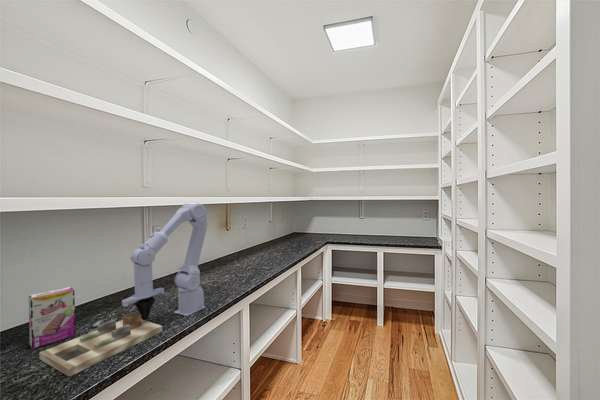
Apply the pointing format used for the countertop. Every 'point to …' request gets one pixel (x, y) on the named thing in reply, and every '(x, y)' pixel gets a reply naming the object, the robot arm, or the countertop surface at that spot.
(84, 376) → the countertop surface
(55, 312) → the candy bar box
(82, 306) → the countertop surface
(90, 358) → the board
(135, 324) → the walnut block
